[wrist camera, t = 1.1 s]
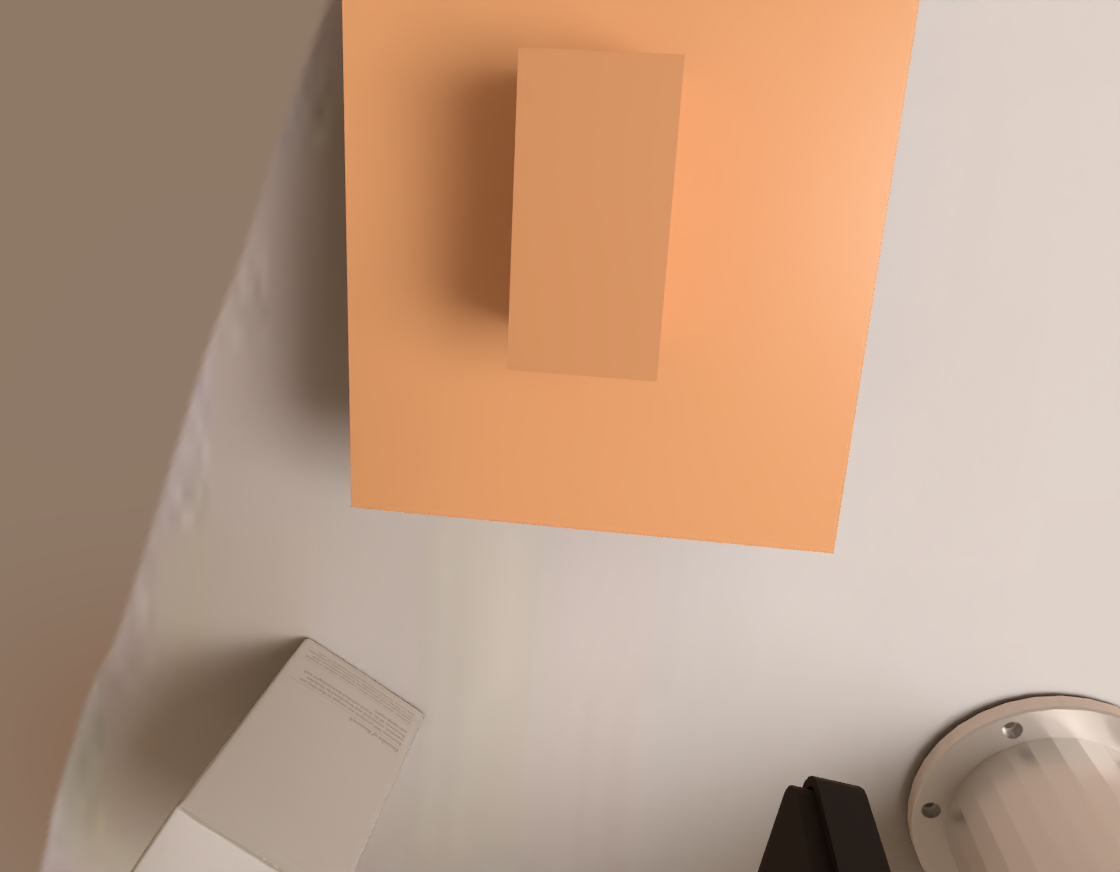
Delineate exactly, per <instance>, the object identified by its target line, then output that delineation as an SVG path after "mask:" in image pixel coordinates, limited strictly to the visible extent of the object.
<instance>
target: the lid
mask: <svg viewBox="0 0 1120 872" xmlns="http://www.w3.org/2000/svg"><path fill="white" fill-rule="evenodd" d="M919 1H920V0H342V25H343V79H344V133H345V187H346V241H347V295H348V348H349V402H350V456H351V507H354V508H365V509H375V510H385V511H396V512H406V513H417V514H427V515H438V516H448V517H458V518H469V519H479V520H490V521H500V522H511V523H521V524H532V525H542V526H552V527H563V528H573V529H584V530H594V531H605V532H615V533H626V534H636V535H646V536H657V537H667V538H678V539H688V540H699V541H709V542H719V543H730V544H740V545H751V546H761V547H772V548H782V549H793V550H803V551H813V552H824V553H834V546H835V540H836V534H837V527H838V521H839V514H840V508H841V501H842V495H843V489H844V482H845V476H846V469H847V463H848V456H849V450H850V444H851V437H852V431H853V424H854V418H855V412H856V405H857V399H858V392H859V386H860V379H861V373H862V367H863V360H864V354H865V347H866V341H867V334H868V328H869V322H870V315H871V309H872V302H873V296H874V289H875V283H876V277H877V270H878V264H879V257H880V251H881V245H882V238H883V232H884V225H885V219H886V212H887V206H888V200H889V193H890V187H891V180H892V174H893V167H894V161H895V155H896V148H897V142H898V135H899V129H900V123H901V116H902V110H903V103H904V97H905V90H906V84H907V78H908V71H909V65H910V58H911V52H912V45H913V39H914V33H915V26H916V20H917V13H918V7H919Z"/></svg>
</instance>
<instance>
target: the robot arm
mask: <svg viewBox="0 0 1120 872" xmlns="http://www.w3.org/2000/svg"><path fill="white" fill-rule="evenodd" d="M908 826H909V830H910V835H911V840H912V843H913V846H914V848H915V851H916V854H917V856H918V859H919V862H920V864H921V866H922V867H923V869H924V871H925V872H1120V708H1119V707H1117V706H1114V705H1111V704H1107V703H1103V702H1100V701H1096V700H1093V699H1088V698H1079V697H1070V696H1045V697H1031V698H1027V699H1022V700H1017V701H1012V702H1007V703H1004V704H1002V705H999V706H996V707H994V708H991V709H988V710H986V711H983V712H980V713H979V714H977V715H975V716H974V717H972V718H970V719H968V720H967V721H965V722H963V723H961V724H960V725H958V726H957V727H956V728H954V729H953V730H952V731H951V732H950V733H948V734H947V735H946V736H945V737H944V738H943V739H941V740H940V741H939V742H938V743H937V744H936V746H935V747H934V748H933V749H932V751H931V752H930V753H929V754H928V755H927V757H926V758H925V759H924V761H923V763H922V764H921V766H920V768H919V770H918V772H917V774H916V776H915V778H914V780H913V784H912V787H911V791H910V795H909V799H908ZM758 872H891V871H890V868H889V865H888V862H887V859H886V855H885V852H884V849H883V846H882V843H881V839H880V836H879V833H878V830H877V827H876V824H875V820H874V817H873V814H872V811H871V808H870V805H869V801H868V798H867V795H866V793H865V791H864V789H862V788H861V787H859V786H855V785H850V784H846V783H841V782H837V781H833V780H828V779H824V778H819V777H815V776H810V777H808V778H807V780H806V781H805V782H804V785H803V787H797V786H793V785H791V786H788V788H787V789H786V791H785V793H784V796H783V799H782V802H781V805H780V808H779V811H778V814H777V817H776V820H775V823H774V826H773V828H772V831H771V834H770V837H769V840H768V843H767V846H766V849H765V852H764V855H763V858H762V861H761V864H760V867H759V870H758Z"/></svg>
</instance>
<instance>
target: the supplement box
mask: <svg viewBox="0 0 1120 872" xmlns="http://www.w3.org/2000/svg"><path fill="white" fill-rule="evenodd" d="M423 719H424V714H423V713H421V712H420V711H418V710H417V709H416V708H414V707H413V706H411V705H410V704H408V703H407V702H405V701H404V700H402V699H401V698H399V697H398V696H396V695H395V694H393V693H392V692H390V691H389V690H387V689H386V688H384V687H383V686H382V685H380V684H378V683H377V682H375V681H374V680H372V679H371V678H369V677H368V676H366V675H365V674H364V673H362V672H361V671H359V670H358V669H356V668H354V667H353V666H351V665H350V664H348V663H347V662H345V661H344V660H342V659H341V658H339V657H338V656H336V655H335V654H333V653H332V652H330V651H329V650H327V649H326V648H324V647H323V646H321V645H320V644H318V643H316V642H314V641H313V640H311V639H305V640H304V641H303V642H302V643H301V644H300V646H299V647H298V648H297V650H296V651H295V652H294V653H293V655H292V656H291V657H290V659H289V660H288V661H287V662H286V664H285V665H284V666H283V668H282V669H281V670H280V672H279V673H278V674H277V676H276V677H275V678H274V680H273V681H272V682H271V683H270V685H269V686H268V687H267V689H266V690H265V691H264V693H263V694H262V695H261V696H260V698H259V699H258V700H257V702H256V703H255V704H254V706H253V707H252V708H251V710H250V711H249V712H248V713H247V715H246V716H245V717H244V719H243V720H242V721H241V723H240V724H239V725H238V727H237V728H236V729H235V730H234V732H233V733H232V734H231V736H230V737H229V738H228V740H227V741H226V742H225V743H224V745H223V746H222V747H221V749H220V750H219V751H218V752H217V754H216V755H215V756H214V758H213V759H212V760H211V762H210V763H209V764H208V765H207V767H206V768H205V769H204V771H203V772H202V773H201V774H200V776H199V777H198V778H197V780H196V781H195V782H194V783H193V785H192V786H191V787H190V789H189V790H188V791H187V793H186V794H185V795H184V796H183V798H182V799H181V800H180V802H179V803H178V804H177V806H176V807H175V808H174V809H173V811H172V812H171V814H170V815H169V816H168V818H167V819H166V820H165V822H164V823H163V825H162V826H161V827H160V829H159V830H158V832H157V833H156V835H155V836H154V837H153V839H152V840H151V842H150V843H149V845H148V846H147V848H146V849H145V851H144V852H143V854H142V855H141V857H140V858H139V860H138V862H137V863H136V865H135V866H134V868H133V869H132V871H131V872H354V870H355V867H356V865H357V863H358V861H359V859H360V857H361V854H362V852H363V850H364V848H365V845H366V843H367V841H368V839H369V837H370V835H371V832H372V830H373V828H374V826H375V823H376V821H377V819H378V817H379V815H380V812H381V810H382V808H383V806H384V804H385V801H386V799H387V797H388V795H389V793H390V790H391V788H392V786H393V784H394V782H395V779H396V777H397V775H398V773H399V771H400V768H401V766H402V764H403V762H404V759H405V757H406V755H407V753H408V751H409V749H410V747H411V744H412V742H413V740H414V738H415V735H416V733H417V731H418V729H419V727H420V724H421V722H422V720H423Z"/></svg>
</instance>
